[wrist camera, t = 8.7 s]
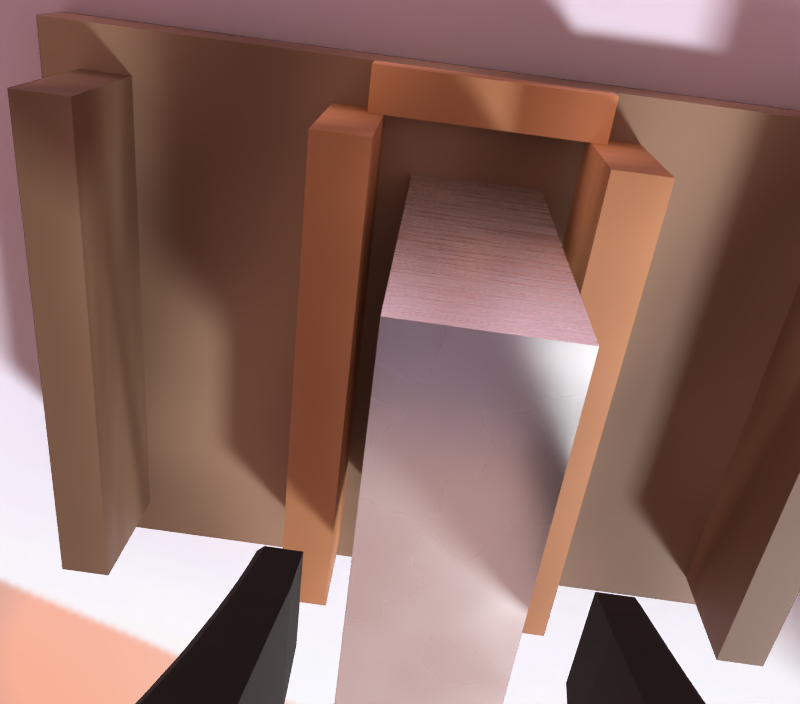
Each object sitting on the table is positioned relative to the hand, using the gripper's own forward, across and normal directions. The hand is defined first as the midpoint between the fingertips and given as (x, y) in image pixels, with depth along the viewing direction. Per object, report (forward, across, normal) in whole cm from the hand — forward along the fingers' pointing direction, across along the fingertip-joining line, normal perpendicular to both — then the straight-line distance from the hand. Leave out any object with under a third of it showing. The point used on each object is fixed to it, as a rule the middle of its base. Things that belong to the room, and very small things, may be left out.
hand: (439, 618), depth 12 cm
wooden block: (+9, 0, 0) cm, 9 cm away
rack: (+10, 0, 0) cm, 10 cm away
